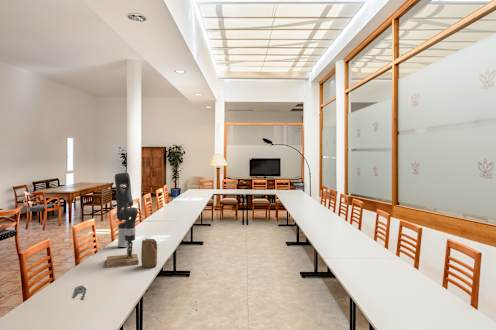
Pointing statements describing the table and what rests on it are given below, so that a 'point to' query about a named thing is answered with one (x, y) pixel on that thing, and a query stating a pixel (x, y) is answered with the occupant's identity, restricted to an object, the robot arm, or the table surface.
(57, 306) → the table surface
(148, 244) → the block
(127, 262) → the board
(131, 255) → the peg
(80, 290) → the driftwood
